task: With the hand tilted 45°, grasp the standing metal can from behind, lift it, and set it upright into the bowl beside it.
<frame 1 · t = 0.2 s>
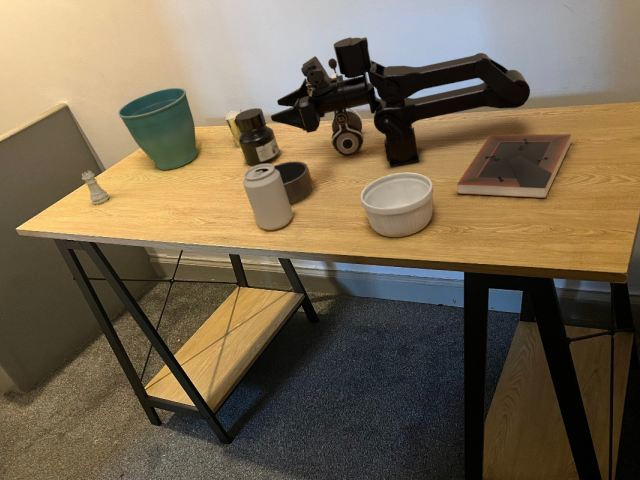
hand: (274, 110, 124), 17 cm above the table, tool horizontal, fingers open, 9 cm apart
flower pot: (177, 161, 160), on the table
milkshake: (244, 144, 159), on the table
ramekin: (402, 223, 108), on the table
ink bottle: (263, 159, 147), on the table
bowl: (289, 193, 128), on the table
can: (277, 223, 119), on the table
picture frame: (515, 170, 114), on the table
rook chess piece: (101, 201, 149), on the table
headset: (351, 147, 141), on the table
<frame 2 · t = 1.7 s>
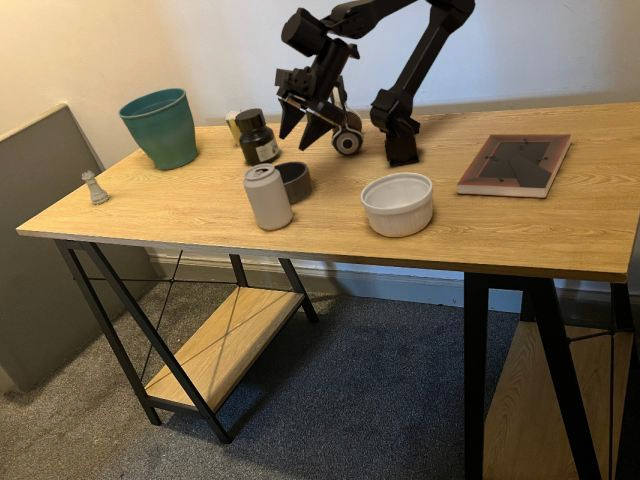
hand: (290, 144, 114), 14 cm above the table, tool tilted 45°, fingers open, 9 cm apart
nothing on the table moved.
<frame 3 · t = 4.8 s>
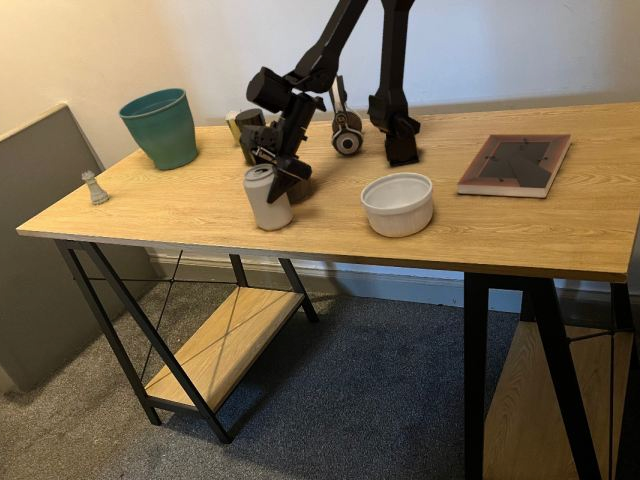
hand: (260, 197, 115), 7 cm above the table, tool tilted 45°, fingers closed on can, 7 cm apart
can: (276, 223, 119), on the table, touching gripper
everything else where it was.
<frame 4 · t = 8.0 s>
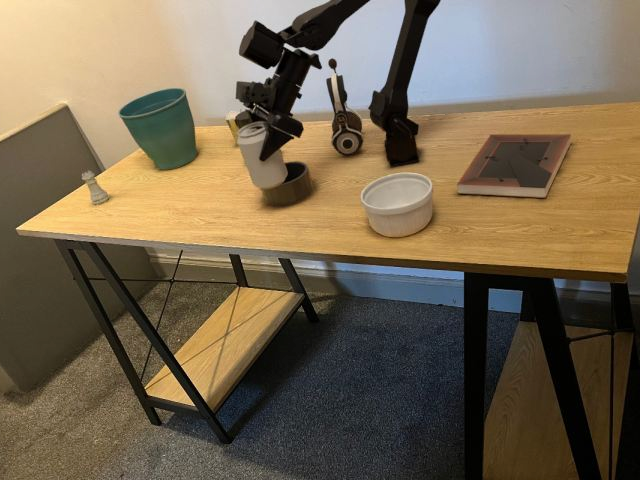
hand: (254, 155, 115), 13 cm above the table, tool tilted 45°, fingers closed on can, 7 cm apart
can: (272, 182, 119), point 6 cm above the table, touching gripper
everything else where it was.
when the fingers open (7 cm above the table, at t = 11.5 s): can stays where it is, resting on bowl.
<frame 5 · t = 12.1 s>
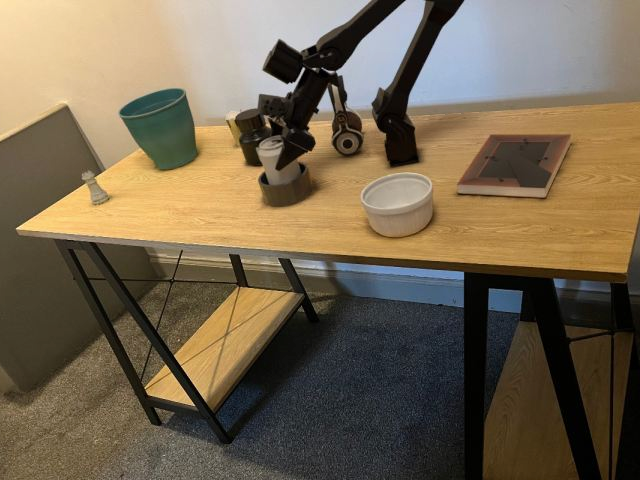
hand: (272, 162, 123), 8 cm above the table, tool tilted 45°, fingers open, 9 cm apart
can: (289, 191, 128), resting on bowl
everything else where it was.
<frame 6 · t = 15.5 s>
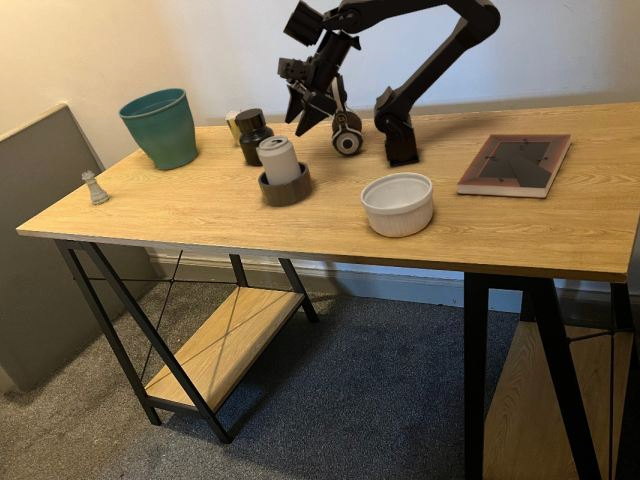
hand: (291, 129, 121), 14 cm above the table, tool tilted 45°, fingers open, 9 cm apart
nothing on the table moved.
at the end: can 0.2 cm off-centre in the bowl, point 0.4 cm above the bowl's base; can tilted 0°; the gripper is holding nothing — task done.
